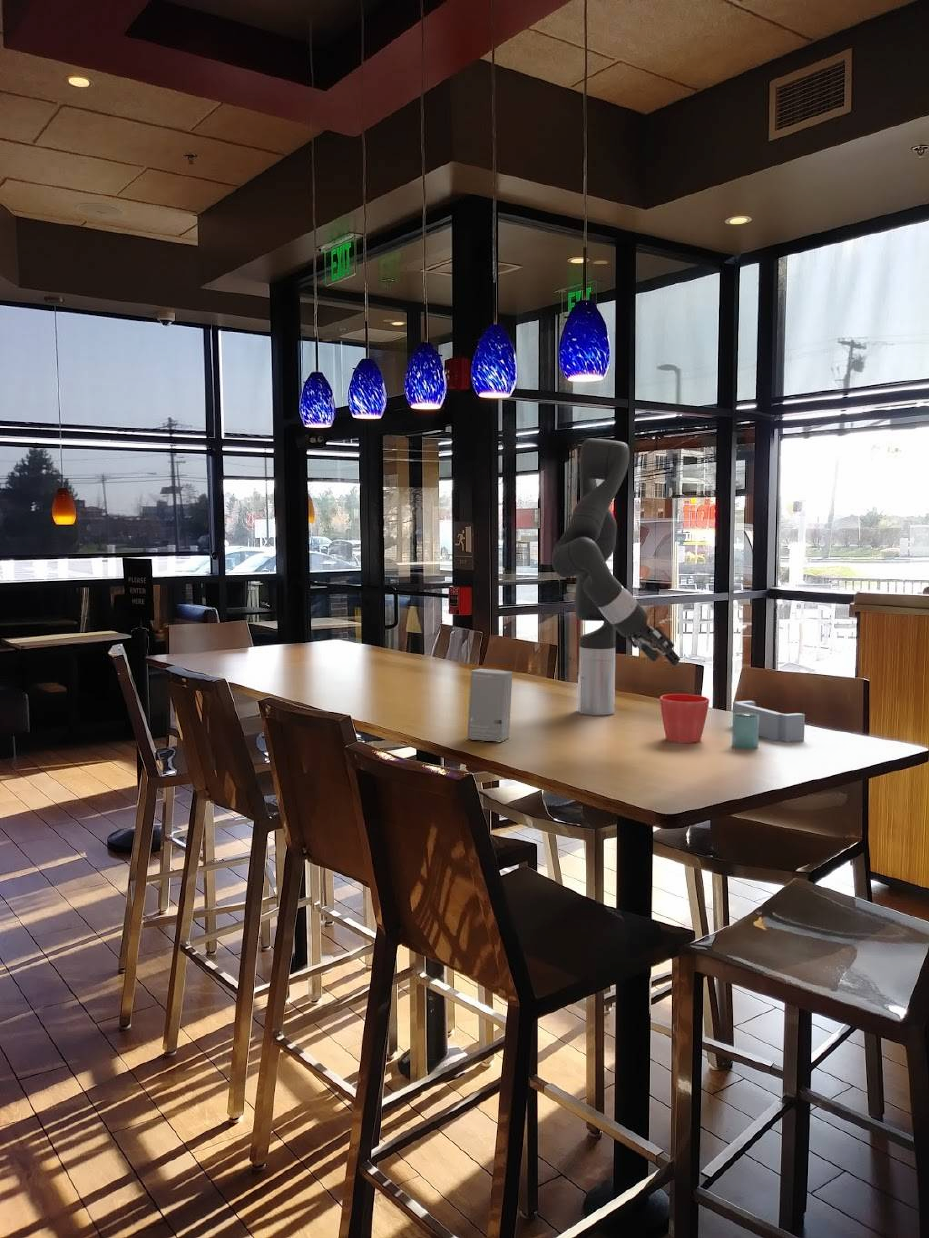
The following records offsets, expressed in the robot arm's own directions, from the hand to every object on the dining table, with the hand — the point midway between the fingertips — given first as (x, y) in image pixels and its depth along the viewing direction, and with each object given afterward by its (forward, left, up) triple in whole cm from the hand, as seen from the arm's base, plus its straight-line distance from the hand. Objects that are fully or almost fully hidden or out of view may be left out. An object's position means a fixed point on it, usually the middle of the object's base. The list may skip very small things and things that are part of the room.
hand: (666, 660), depth 225 cm
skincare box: (-39, +2, -19) cm, 44 cm away
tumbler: (+17, -5, -18) cm, 25 cm away
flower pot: (+5, +2, -19) cm, 19 cm away
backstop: (+26, +9, -18) cm, 33 cm away
